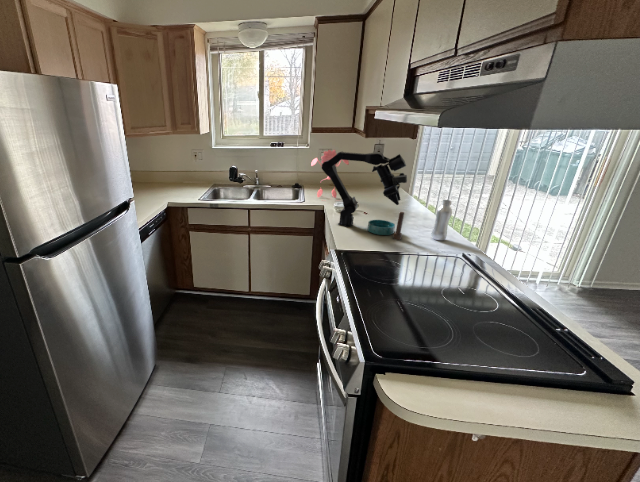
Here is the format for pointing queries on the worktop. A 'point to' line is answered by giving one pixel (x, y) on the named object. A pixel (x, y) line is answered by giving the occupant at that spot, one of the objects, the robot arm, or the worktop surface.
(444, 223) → the plastic bottle
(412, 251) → the worktop surface
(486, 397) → the worktop surface
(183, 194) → the worktop surface
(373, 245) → the worktop surface
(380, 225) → the bowl
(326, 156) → the figurine
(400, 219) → the post
